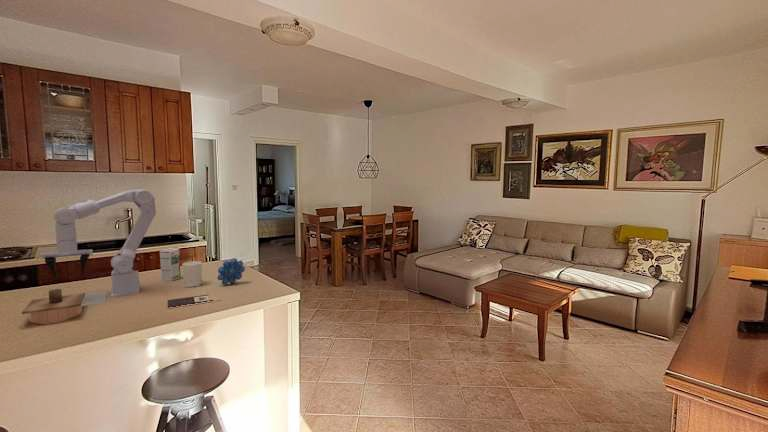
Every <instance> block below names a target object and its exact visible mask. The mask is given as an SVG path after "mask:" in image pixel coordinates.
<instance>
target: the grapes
mask: <svg viewBox="0 0 768 432" xmlns="http://www.w3.org/2000/svg"><path fill="white" fill-rule="evenodd" d="M243 264H244V262H243V260H238V259H237V257H234V258H233V257H232V258H231V259H230V260H225V261H224V262H223V263H222V266H220V267H218V270H217V272H218V275H217V277H216V279H217V280H218V281H221V284H222V285H223V284H225V285H227V284H229V283H234V284H235V283H236V281H237V280H240V279H242V277H243V274H242V273H244V272H245V269H246V267H245V266H243Z"/></svg>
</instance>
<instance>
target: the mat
mask: <svg viewBox="0 0 768 432" xmlns="http://www.w3.org/2000/svg"><path fill="white" fill-rule="evenodd" d="M107 295H108V291H107V290H105V291H97V292H96V291H95V292H89V293H85V296H84V299H83V301H82V307H86V306H91V305H92V306H93V305H98V304H105V303H106V298H107Z"/></svg>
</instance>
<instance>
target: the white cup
mask: <svg viewBox="0 0 768 432" xmlns="http://www.w3.org/2000/svg"><path fill="white" fill-rule="evenodd" d="M181 266H182V268H181V269H182V278H183V286H184V287H186V288H195V287H194V286H196V287H199V286H201V285H202V277H203V262H202V261H199V260H198V261H197V260H196V261H195V260H194V261H193V260H192V261H186V262H182V264H181Z"/></svg>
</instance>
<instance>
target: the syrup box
mask: <svg viewBox="0 0 768 432" xmlns="http://www.w3.org/2000/svg"><path fill="white" fill-rule="evenodd" d="M159 259H160V260H159V261H160V262H159V263H160V277H161V281H166V282H172V281H175V280H178V279H181V277H182V276H181V259H180V248H177V247H169V248H166V249H161V250H159Z"/></svg>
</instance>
